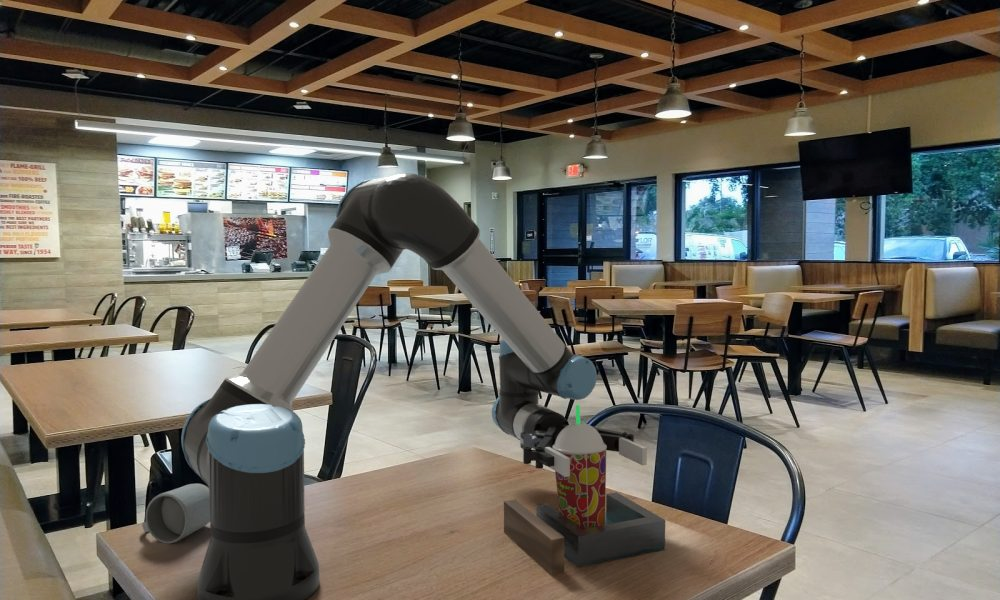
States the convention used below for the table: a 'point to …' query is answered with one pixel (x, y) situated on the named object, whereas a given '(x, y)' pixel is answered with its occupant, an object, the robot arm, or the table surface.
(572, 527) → the keyed cradle
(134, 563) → the table surface
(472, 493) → the table surface
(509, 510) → the walnut rail
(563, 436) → the smoothie
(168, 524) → the ceramic mug
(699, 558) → the table surface
